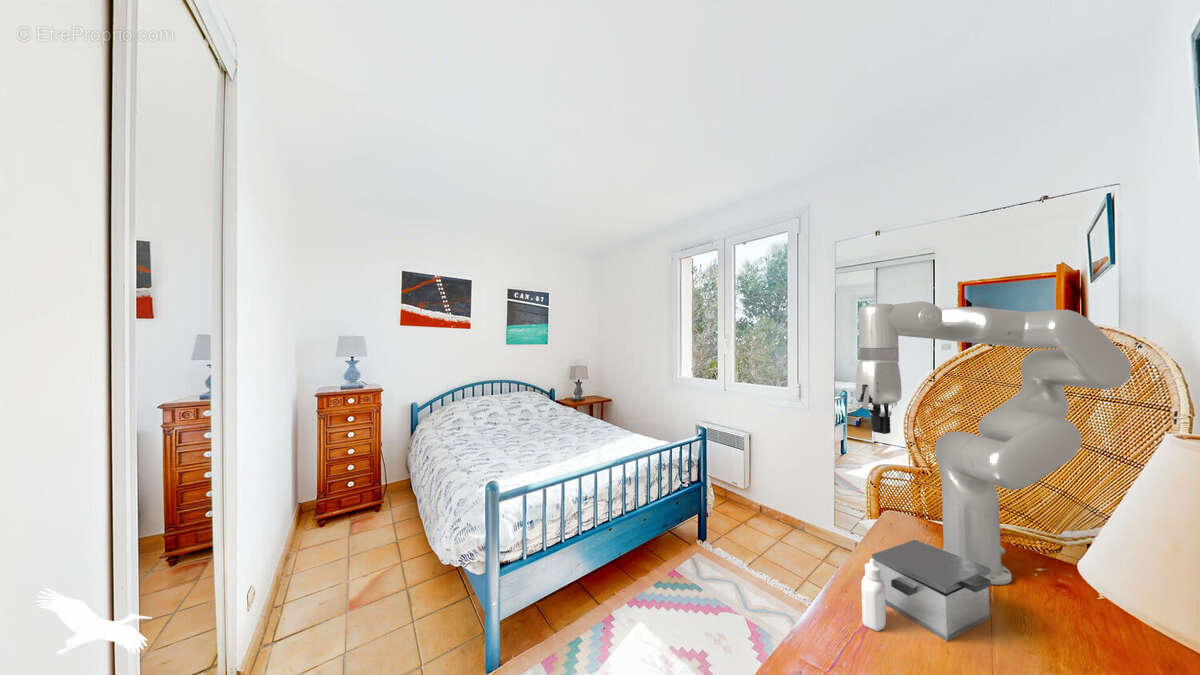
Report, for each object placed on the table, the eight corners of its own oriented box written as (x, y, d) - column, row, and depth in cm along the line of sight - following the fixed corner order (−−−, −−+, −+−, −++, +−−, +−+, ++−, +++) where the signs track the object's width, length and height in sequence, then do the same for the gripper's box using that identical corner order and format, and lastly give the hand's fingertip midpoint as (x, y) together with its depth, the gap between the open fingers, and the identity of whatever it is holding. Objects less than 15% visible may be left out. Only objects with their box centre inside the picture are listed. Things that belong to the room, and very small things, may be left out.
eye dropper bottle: (897, 628, 69) (895, 564, 69) (872, 633, 68) (870, 568, 68) (875, 611, 74) (873, 551, 74) (851, 616, 72) (850, 554, 73)
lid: (915, 544, 83) (914, 539, 83) (1005, 578, 69) (1004, 573, 69) (872, 559, 77) (871, 554, 78) (960, 600, 64) (959, 594, 64)
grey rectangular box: (923, 578, 83) (922, 543, 83) (996, 615, 72) (994, 574, 72) (868, 601, 76) (867, 562, 76) (938, 645, 65) (937, 600, 65)
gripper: (882, 354, 94) (884, 426, 94) (841, 356, 89) (844, 432, 89) (916, 355, 87) (918, 432, 87) (874, 357, 82) (877, 439, 82)
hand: (881, 432), depth 88 cm, fingers closed
